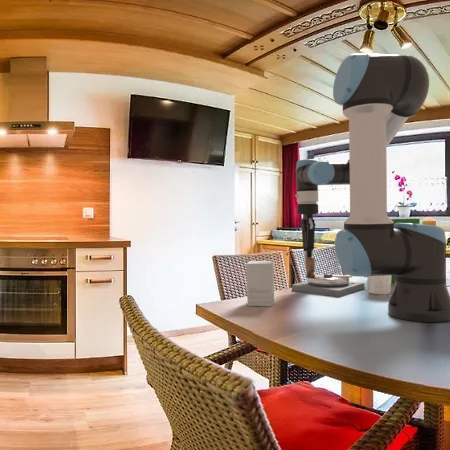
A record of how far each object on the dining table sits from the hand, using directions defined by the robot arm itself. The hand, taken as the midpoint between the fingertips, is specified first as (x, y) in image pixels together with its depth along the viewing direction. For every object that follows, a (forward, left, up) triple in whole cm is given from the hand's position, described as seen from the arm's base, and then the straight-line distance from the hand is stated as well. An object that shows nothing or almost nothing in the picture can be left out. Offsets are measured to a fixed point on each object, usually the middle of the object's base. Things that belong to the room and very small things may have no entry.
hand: (308, 268), depth 141 cm
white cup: (+6, -23, -7) cm, 25 cm away
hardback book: (+30, -18, -7) cm, 36 cm away
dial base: (+1, -7, -7) cm, 10 cm away
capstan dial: (+1, -7, -5) cm, 9 cm away
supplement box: (-31, -3, -7) cm, 32 cm away
